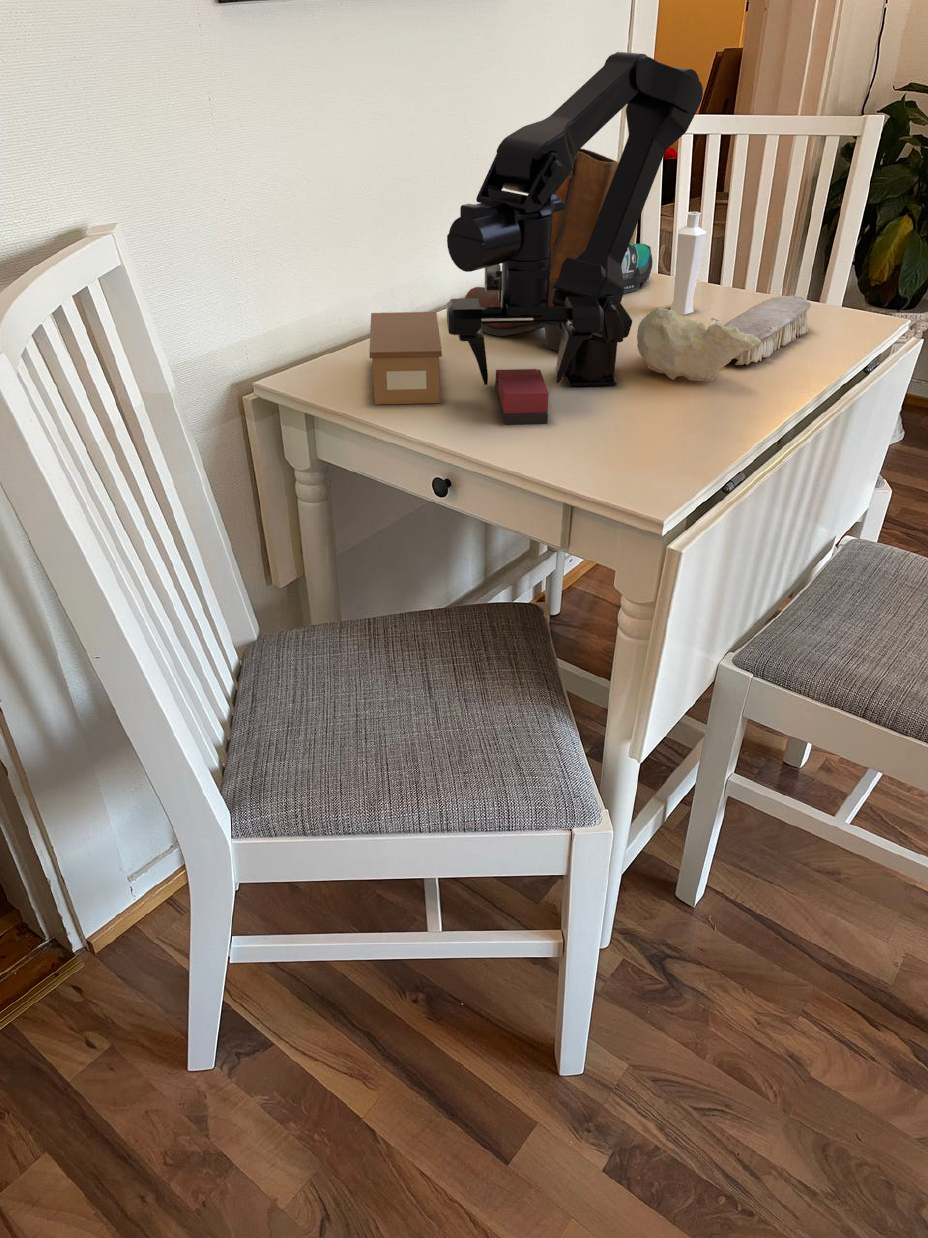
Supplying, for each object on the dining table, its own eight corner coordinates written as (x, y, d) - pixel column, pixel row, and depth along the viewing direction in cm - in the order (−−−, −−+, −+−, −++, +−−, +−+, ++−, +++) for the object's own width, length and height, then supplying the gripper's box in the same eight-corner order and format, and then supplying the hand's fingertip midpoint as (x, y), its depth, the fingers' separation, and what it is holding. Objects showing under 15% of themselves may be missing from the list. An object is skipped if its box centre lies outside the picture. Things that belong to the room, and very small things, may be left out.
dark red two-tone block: (535, 387, 129) (536, 359, 126) (547, 423, 119) (549, 394, 117) (495, 388, 128) (495, 360, 126) (504, 424, 118) (505, 395, 116)
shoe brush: (768, 319, 153) (774, 287, 150) (814, 329, 149) (821, 296, 146) (703, 361, 137) (708, 327, 134) (752, 373, 133) (759, 337, 130)
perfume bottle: (660, 308, 157) (672, 211, 149) (682, 305, 159) (695, 208, 150) (677, 316, 154) (689, 217, 145) (699, 313, 155) (713, 214, 147)
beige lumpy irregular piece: (616, 374, 138) (632, 336, 123) (637, 329, 139) (655, 285, 124) (715, 417, 137) (743, 383, 122) (735, 371, 138) (766, 332, 123)
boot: (452, 321, 151) (451, 132, 136) (496, 310, 156) (500, 126, 141) (564, 366, 135) (578, 156, 120) (610, 352, 140) (628, 149, 125)
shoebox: (437, 360, 137) (436, 311, 133) (442, 404, 124) (441, 350, 120) (373, 362, 136) (371, 312, 132) (372, 405, 123) (369, 352, 119)
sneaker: (667, 281, 171) (678, 190, 162) (580, 309, 157) (587, 211, 148) (625, 270, 176) (634, 182, 167) (538, 297, 162) (543, 202, 154)
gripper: (592, 237, 120) (583, 359, 129) (443, 239, 119) (445, 362, 128) (609, 260, 111) (598, 390, 120) (448, 263, 110) (449, 393, 119)
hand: (521, 382), depth 122 cm, fingers open, 9 cm apart
